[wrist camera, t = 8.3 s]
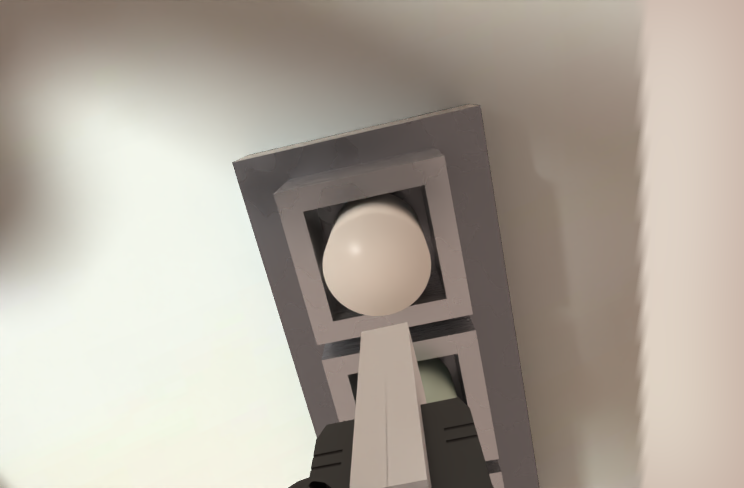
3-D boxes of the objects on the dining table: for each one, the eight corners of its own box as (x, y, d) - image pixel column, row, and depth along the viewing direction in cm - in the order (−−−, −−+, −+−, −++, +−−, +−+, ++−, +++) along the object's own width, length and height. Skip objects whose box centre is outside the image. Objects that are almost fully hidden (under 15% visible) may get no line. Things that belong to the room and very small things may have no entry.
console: (248, 155, 26) (207, 173, 20) (468, 104, 25) (498, 107, 19) (358, 525, 34) (353, 623, 27) (531, 495, 33) (568, 590, 26)
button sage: (359, 359, 25) (355, 415, 20) (445, 342, 24) (459, 396, 20) (378, 430, 26) (378, 497, 21) (459, 416, 25) (476, 481, 21)
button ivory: (322, 202, 23) (310, 227, 19) (411, 183, 23) (419, 203, 19) (344, 285, 25) (337, 325, 20) (428, 267, 24) (440, 304, 20)
